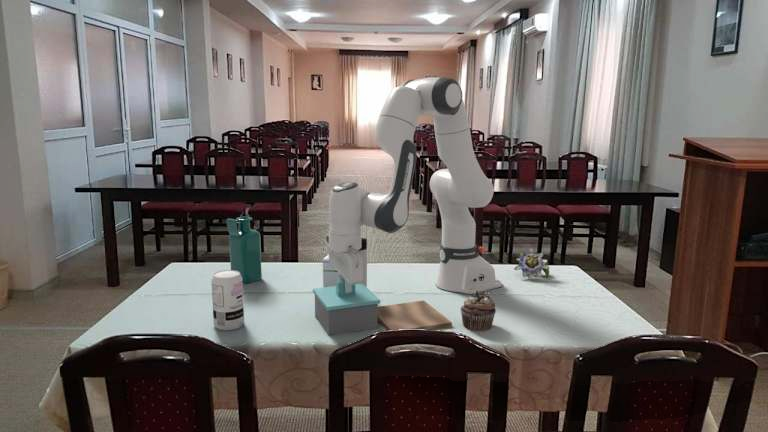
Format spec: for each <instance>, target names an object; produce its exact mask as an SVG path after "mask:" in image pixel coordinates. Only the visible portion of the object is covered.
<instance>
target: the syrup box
mask: <svg viewBox="0 0 768 432" xmlns="http://www.w3.org/2000/svg"><path fill="white" fill-rule="evenodd" d="M336 280H339V276H338V271H337V270H336V269H335V268H334V267H332V266H331V264H330V262H329V255H328V254H327V255H326V256H324V258H322V281H323V282H322V288H324V287H332V286H336Z"/></svg>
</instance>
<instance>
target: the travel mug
mask: <svg viewBox="0 0 768 432" xmlns="http://www.w3.org/2000/svg"><path fill="white" fill-rule="evenodd" d="M367 241H368V238H364V237H361V249H359V250H357V252H358V254H359V255H360V256H361V258H362V263H363V282H362V283H363V284H364V285H365V286H366V287H367V288H368V283H367V281H368V280H367V279H368V246H367V245H368V242H367Z"/></svg>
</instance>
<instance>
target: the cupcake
mask: <svg viewBox="0 0 768 432" xmlns="http://www.w3.org/2000/svg"><path fill="white" fill-rule="evenodd" d="M496 313H497V311H496V303H495V302H494V300H493V299H492V298H491V294H490V292H489V291H481V293H480V292H478V291H476V292H475V293H472V294H471V295H470V296H468V297H467V298H465V299H464V300H463V305H462V306H461V307H460V314H461V320H462V326H463V328H464V329H466V330H469V331H473V332H485V331H489V330H490V329H491V328H492V326H493V322H494V318H495V315H496Z"/></svg>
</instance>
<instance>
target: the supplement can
mask: <svg viewBox="0 0 768 432" xmlns="http://www.w3.org/2000/svg"><path fill="white" fill-rule="evenodd" d="M210 283H211V298H212V316H213V327H215V328H216V329H217V330H220V331H232V330H233V331H234V330H237V329H239V328H241V327H242V326H243V324H245V309H244V307H245V306H244V283H242V276H241V275H240V272H238V271H235V270H231V269H225V270H220V271H216V272H214V273H213V276H212V277H211V281H210Z"/></svg>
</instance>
